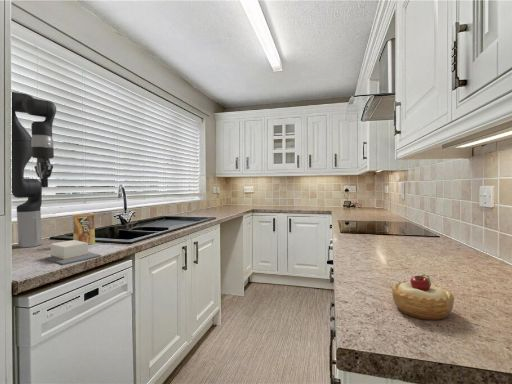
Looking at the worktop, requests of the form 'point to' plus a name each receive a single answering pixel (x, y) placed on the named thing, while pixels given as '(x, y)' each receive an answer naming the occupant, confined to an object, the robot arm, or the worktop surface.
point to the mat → (73, 260)
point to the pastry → (422, 299)
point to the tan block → (69, 249)
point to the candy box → (84, 228)
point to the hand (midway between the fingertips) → (44, 187)
